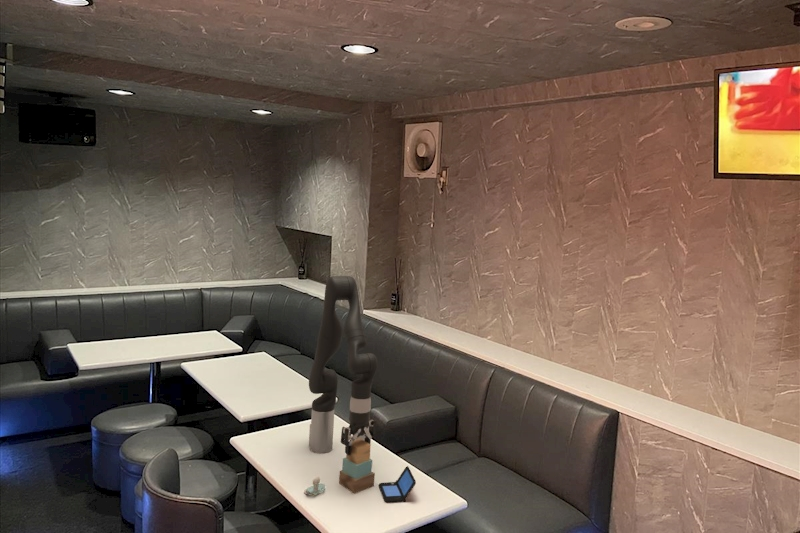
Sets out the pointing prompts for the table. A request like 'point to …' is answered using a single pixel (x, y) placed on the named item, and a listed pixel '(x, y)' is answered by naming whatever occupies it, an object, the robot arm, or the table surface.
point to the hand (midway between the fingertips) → (357, 451)
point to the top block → (356, 468)
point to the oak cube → (359, 451)
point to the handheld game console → (398, 487)
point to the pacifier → (315, 487)
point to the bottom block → (356, 482)
